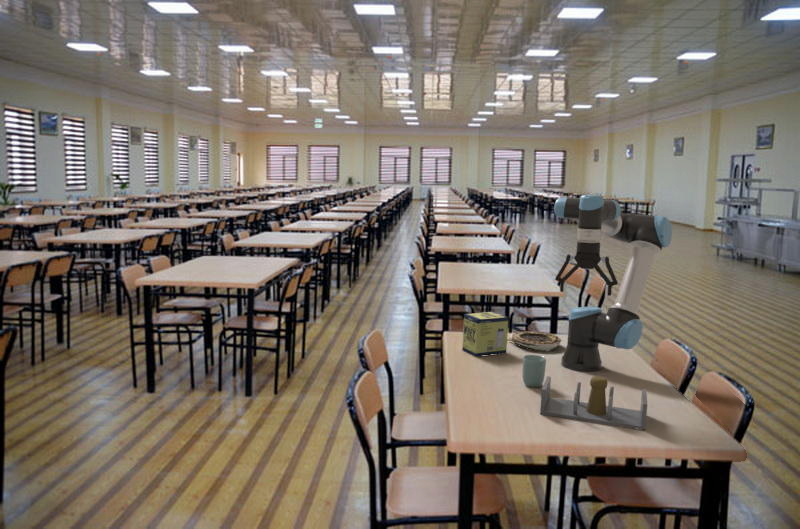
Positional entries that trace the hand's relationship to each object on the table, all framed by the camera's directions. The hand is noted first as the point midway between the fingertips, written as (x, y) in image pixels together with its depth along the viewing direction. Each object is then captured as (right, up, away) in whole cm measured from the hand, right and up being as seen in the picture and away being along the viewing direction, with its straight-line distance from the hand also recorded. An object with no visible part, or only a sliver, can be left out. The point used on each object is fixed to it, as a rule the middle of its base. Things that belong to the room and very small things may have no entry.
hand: (584, 303), depth 220 cm
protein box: (-28, -23, +47) cm, 60 cm away
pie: (-4, -23, +60) cm, 64 cm away
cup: (-16, -29, +7) cm, 34 cm away
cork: (-2, -33, -19) cm, 38 cm away
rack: (-3, -33, -19) cm, 38 cm away
